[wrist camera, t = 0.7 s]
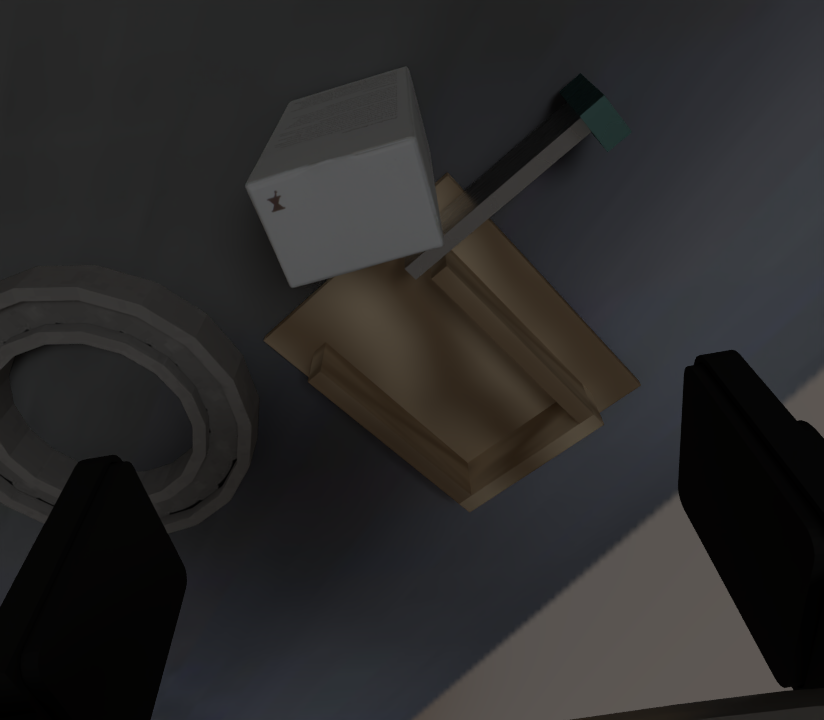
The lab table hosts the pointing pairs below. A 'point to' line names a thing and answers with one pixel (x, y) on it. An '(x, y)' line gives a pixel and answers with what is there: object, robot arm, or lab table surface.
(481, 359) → the rest
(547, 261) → the lab table surface
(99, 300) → the mechanical component
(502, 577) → the lab table surface
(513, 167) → the gate
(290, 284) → the skincare box
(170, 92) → the lab table surface
